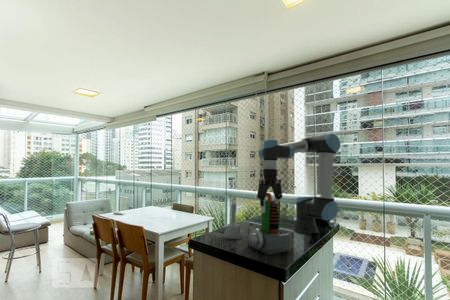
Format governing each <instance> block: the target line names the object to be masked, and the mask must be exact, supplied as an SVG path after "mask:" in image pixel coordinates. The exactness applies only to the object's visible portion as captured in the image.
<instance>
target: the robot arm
mask: <svg viewBox="0 0 450 300" xmlns="http://www.w3.org/2000/svg"><path fill="white" fill-rule="evenodd" d="M340 149H341V140H340V138H339V137H338V135H337V134H335V133H332V132H331V133H322V134H317V135H316V134H313V135H310V136H307V137H304V138H299V139H298V140H297V141H291V142H287V143H286V142H285V143H281V144H280V143H279V141H278V140H277V139H265V140H264V141H263V147H262V146H261V148H259V150H258V157H259V158H260V159H261V160H263V162H262V164H263V165H262V167H263V170H262V175H263V178H259V179H258V189H257V194H256V198H257V199H258V200H259V201H260V202H259V206H260V213H261V214H262V213H265V205H266V200H267V199H266V197H265V196H266V193H268V190H269V188H270V187H271V190H272V193H273V197H274V199H273V201H274V204H278V205H279V202H280V200H281V199H283V192H282V185H281V184H282V180H281V178H280V179H278V178H277V176H278V172H279V171H278V168H279V167H278V160H283V159H286V160H289V159H290V160H291V159H293V158H294V156H295V154H298V153H301V154H304V153H315V155H316V156H317V157H318V161H317V162H318V164H317V182H316V183H317V186H316V194H315V195H314V196H313V195H312V196H298V197H297V198H296V203H295V205H296V206H295V207H296V209H295V211H296V213H295V215H296V216H295V217H296V219H295V222H294V225H293V231H294V232H295V231H296V232H295V233H297V232H299V233H298V234H302V233H304V234H303V235H313V234H312V233H317V232H318V230H319V229H318V228H317V224H316V219H320V220H323V221H333V220H335V218H336V217H337V215H338V213H339V205H338V203H337V202H336V201H335V197H334V196H333V170H334V168H333V167H334V157H335V156H337V152H339V151H340ZM277 208H279V206H277ZM276 211H279V210H276ZM317 234H318V233H317Z"/></svg>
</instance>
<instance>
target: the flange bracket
mask: <svg viewBox="0 0 450 300" xmlns="http://www.w3.org/2000/svg"><path fill="white" fill-rule="evenodd" d="M247 246H248V247H250V248H253V249H254V250H255V251H259V252H261V253H263V254H266V255H267V256H269V255H271V256H272V255H275V254H281V253H284V252H289V251H290V250H291V249H290V233H283V234H282V233H281V234H268V233H265V232H262V231H261V227H260V228H257V227H255V228H254V227H248V228H247Z"/></svg>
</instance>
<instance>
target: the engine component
mask: <svg viewBox="0 0 450 300" xmlns="http://www.w3.org/2000/svg"><path fill="white" fill-rule="evenodd" d="M230 206H231V208H230V212H231V223H228V224H227V226H225V230H224V237H225V238H226V239H230V240H237V239H241V238H242V230H241V229H242V227H241V225H240V223H236V214H237V201H231V205H230Z"/></svg>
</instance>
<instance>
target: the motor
mask: <svg viewBox="0 0 450 300" xmlns="http://www.w3.org/2000/svg"><path fill="white" fill-rule="evenodd" d="M266 197H267V199H265V200H266V205H265V213H262V212H261V221H260V222H261V224H260V228H261V231H262V232H265V233H268V234H271V235H279V232H280V221H281V220H280V218H281V216H280V215H281V201H279V205H278V204H274V200H273V197H272V193H270V192H267V193H266V196H265V198H266ZM277 206H279V208H277ZM276 210H279V211H276Z"/></svg>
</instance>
